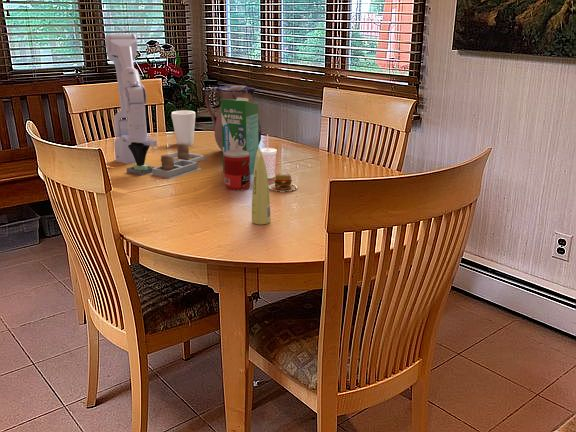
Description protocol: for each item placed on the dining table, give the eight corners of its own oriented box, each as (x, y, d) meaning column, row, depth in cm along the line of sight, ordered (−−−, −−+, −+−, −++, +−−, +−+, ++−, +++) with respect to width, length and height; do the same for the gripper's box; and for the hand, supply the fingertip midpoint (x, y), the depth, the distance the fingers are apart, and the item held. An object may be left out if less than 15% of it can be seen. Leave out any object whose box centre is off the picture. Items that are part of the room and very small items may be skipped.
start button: (131, 174, 191) (130, 165, 190) (141, 171, 195) (140, 162, 194) (141, 176, 189) (140, 167, 188) (150, 173, 193) (150, 164, 192)
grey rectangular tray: (148, 176, 190) (148, 168, 189) (180, 167, 202) (179, 158, 200) (171, 181, 185) (170, 172, 184) (202, 171, 196) (201, 162, 195)
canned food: (246, 191, 176) (246, 156, 172) (221, 189, 177) (220, 154, 173) (253, 184, 183) (252, 150, 179) (228, 182, 184) (227, 149, 180)
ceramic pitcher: (259, 159, 213) (259, 90, 204) (202, 158, 213) (199, 90, 204) (262, 148, 229) (262, 84, 220) (209, 147, 229) (207, 83, 221)
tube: (245, 221, 151) (244, 148, 144) (259, 216, 154) (258, 145, 148) (261, 226, 147) (261, 152, 141) (275, 221, 151) (274, 148, 144)
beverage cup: (260, 179, 188) (260, 137, 183) (256, 174, 193) (256, 133, 188) (278, 178, 189) (279, 136, 184) (274, 173, 195) (274, 132, 190)
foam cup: (169, 145, 232) (167, 113, 228) (179, 141, 240) (177, 109, 236) (190, 147, 230) (188, 115, 225) (200, 142, 238) (199, 111, 233)
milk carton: (259, 169, 199) (258, 96, 190) (246, 176, 191) (245, 100, 183) (236, 166, 202) (234, 94, 194) (223, 173, 195) (220, 98, 186)
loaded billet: (159, 173, 189) (158, 156, 187) (168, 171, 193) (167, 153, 190) (168, 175, 187) (167, 157, 185) (177, 173, 190) (176, 155, 188)
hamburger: (259, 194, 175) (259, 177, 173) (267, 183, 186) (267, 167, 184) (299, 197, 173) (299, 179, 171) (304, 185, 184) (305, 169, 182)
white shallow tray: (161, 162, 208) (161, 156, 207) (179, 156, 215) (179, 151, 215) (187, 167, 201) (187, 161, 201) (205, 161, 209) (205, 155, 208)
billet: (175, 160, 208) (174, 144, 205) (183, 158, 211) (182, 142, 209) (183, 162, 205) (182, 145, 203) (191, 159, 209) (190, 143, 207)
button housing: (127, 175, 191) (126, 168, 190) (141, 171, 196) (141, 164, 195) (141, 178, 188) (140, 171, 187) (155, 174, 193) (154, 167, 192)
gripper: (112, 123, 187) (116, 164, 191) (144, 129, 179) (147, 171, 184) (128, 120, 192) (132, 160, 197) (160, 125, 185) (163, 166, 190)
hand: (140, 165), depth 191 cm, fingers closed, pressing on start button
